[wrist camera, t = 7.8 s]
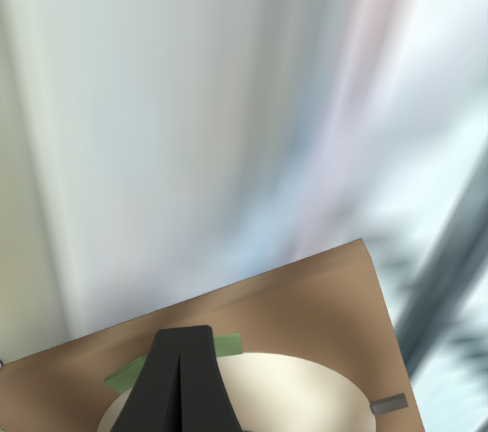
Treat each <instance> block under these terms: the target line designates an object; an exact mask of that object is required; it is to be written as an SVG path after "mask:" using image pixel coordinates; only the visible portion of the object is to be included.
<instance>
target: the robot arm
mask: <svg viewBox="0 0 488 432" xmlns="http://www.w3.org/2000/svg"><path fill="white" fill-rule="evenodd" d="M1 367H2V365H1V363H0V369H1ZM110 432H243V431H242V428H241V426H240V424H239V421H238V419H237V417H236V414H235V412H234V409H233V407H232V404H231V402H230V399H229V397H228V394H227V391H226V388H225V385H224V383H223V380H222V377H221V373H220V370H219V367H218V363H217V358H216V351H215V345H214V338H213V331H212V327H210V326H209V325H199V326H188V327H178V328H168V329H159V330H158V331H157V332H156V334H155V337H154V340H153V343H152V345H151V348H150V350H149V353H148V355H147V358H146V360H145V362H144V365H143V367H142V369H141V371H140V374H139V376H138V378H137V380H136V382H135V384H134V386H133V388H132V390H131V392H130V394H129V396H128V398H127V401H126V403H125V405H124V406H123V408H122V410H121V412H120V414H119V416H118V417H117V419H116V421H115V423H114V425H113V426H112V428H111V430H110Z"/></svg>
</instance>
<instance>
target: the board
mask: <svg viewBox="0 0 488 432" xmlns="http://www.w3.org/2000/svg"><path fill="white" fill-rule="evenodd" d="M199 325H209V326H210V327H212V331H213V338H214V345H215V351H216V358H217V363H218V367H219V370H220V373H221V377H222V380H223V383H224V385H225V388H226V391H227V394H228V397H229V399H230V402H231V404H232V407H233V409H234V412H235V414H236V417H237V419H238V421H239V424H240V426H241V428H242V431H250V432H425V429H424V426H423V423H422V420H421V417H420V413H419V410H418V407H417V404H416V400H415V397H414V394H413V391H412V388H411V384H410V381H409V378H408V375H407V371H406V368H405V365H404V362H403V359H402V355H401V352H400V349H399V346H398V343H397V339H396V336H395V333H394V330H393V326H392V323H391V320H390V317H389V314H388V310H387V307H386V304H385V301H384V297H383V294H382V291H381V288H380V285H379V281H378V278H377V275H376V272H375V269H374V265H373V262H372V259H371V256H370V254H369V252H368V250H367V248H366V246H365V244H364V242H363V240H362V238H361V239H359V240H356V241H353V242H350V243H347V244H345V245H342V246H339V247H336V248H333V249H330V250H328V251H325V252H322V253H319V254H316V255H313V256H311V257H308V258H305V259H302V260H299V261H296V262H294V263H291V264H288V265H285V266H282V267H280V268H277V269H274V270H271V271H268V272H265V273H263V274H260V275H257V276H254V277H251V278H248V279H246V280H243V281H240V282H237V283H234V284H232V285H229V286H226V287H223V288H220V289H217V290H215V291H212V292H209V293H206V294H203V295H200V296H198V297H195V298H192V299H189V300H186V301H183V302H181V303H178V304H175V305H172V306H169V307H167V308H164V309H161V310H158V311H155V312H152V313H150V314H147V315H144V316H141V317H138V318H135V319H133V320H130V321H127V322H124V323H121V324H119V325H116V326H113V327H110V328H107V329H104V330H102V331H99V332H96V333H93V334H90V335H87V336H85V337H82V338H79V339H76V340H73V341H71V342H68V343H65V344H62V345H59V346H56V347H54V348H51V349H48V350H45V351H42V352H39V353H37V354H34V355H31V356H28V357H25V358H22V359H20V360H17V361H14V362H11V363H8V364H6V365H3V366H2V367H1V369H0V428H1V429H2V430H3V431H5V432H110V430H111V428H112V426H113V425H114V423H115V421H116V419H117V417H118V416H119V414H120V412H121V410H122V408H123V406H124V405H125V403H126V401H127V398H128V396H129V394H130V392H131V390H132V388H133V386H134V384H135V382H136V380H137V378H138V376H139V374H140V371H141V369H142V367H143V365H144V362H145V360H146V358H147V355H148V353H149V350H150V348H151V345H152V343H153V340H154V337H155V334H156V332H157V331H158V330H159V329H168V328H178V327H188V326H199Z"/></svg>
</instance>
